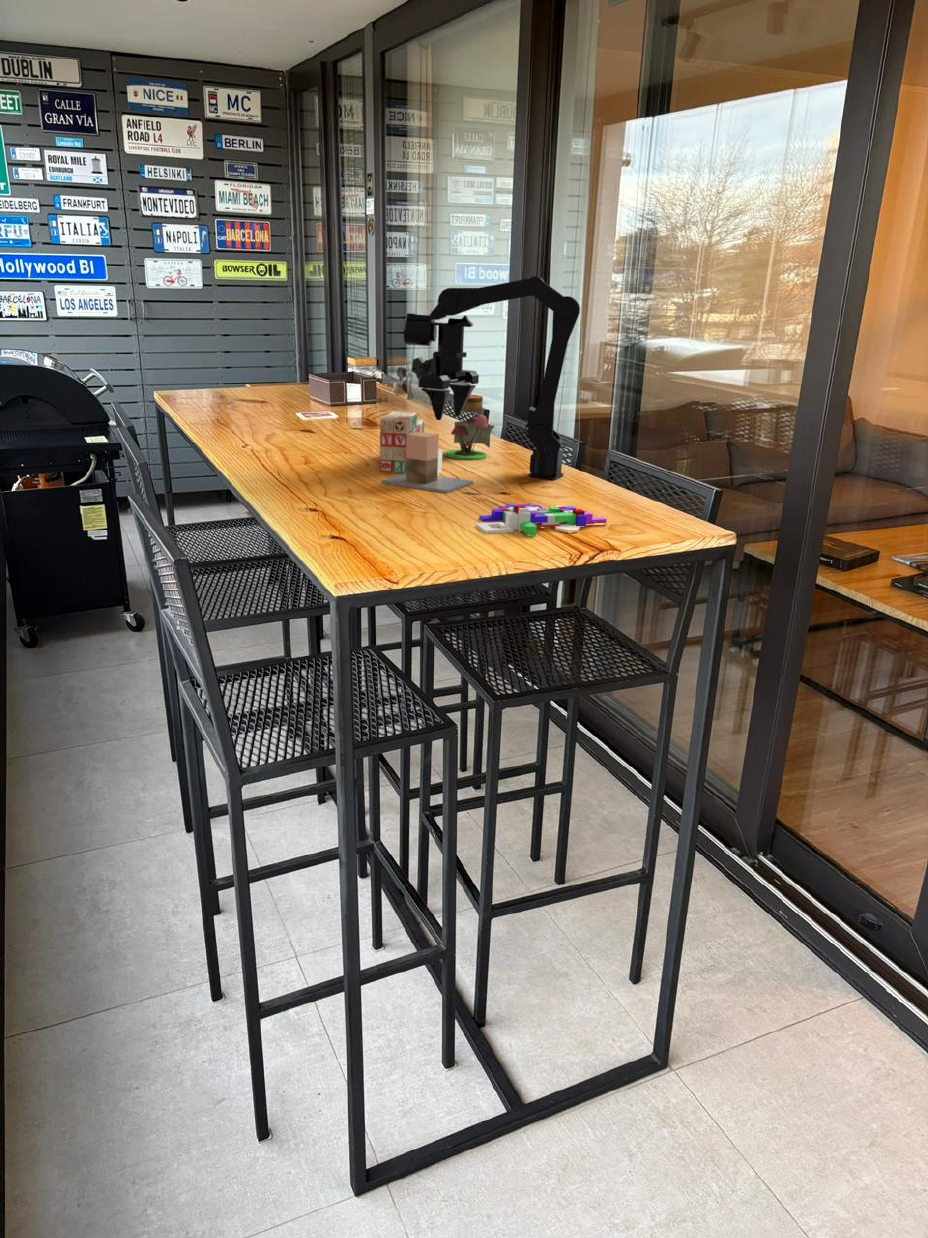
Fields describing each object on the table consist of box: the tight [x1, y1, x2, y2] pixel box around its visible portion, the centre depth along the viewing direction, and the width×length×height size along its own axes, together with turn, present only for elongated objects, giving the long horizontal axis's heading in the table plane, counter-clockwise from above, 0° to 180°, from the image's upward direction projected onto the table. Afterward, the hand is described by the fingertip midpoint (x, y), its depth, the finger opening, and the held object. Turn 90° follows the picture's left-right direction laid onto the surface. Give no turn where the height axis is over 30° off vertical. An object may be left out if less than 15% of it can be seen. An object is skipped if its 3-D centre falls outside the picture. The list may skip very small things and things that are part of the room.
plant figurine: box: [444, 393, 495, 460], centre depth 227 cm, size 12×13×15 cm
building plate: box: [381, 473, 474, 494], centre depth 197 cm, size 16×12×1 cm
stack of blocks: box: [379, 411, 425, 474], centre depth 214 cm, size 21×6×12 cm, turn 171°
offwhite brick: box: [437, 449, 443, 475], centre depth 208 cm, size 5×5×5 cm
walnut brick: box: [406, 458, 438, 484], centre depth 195 cm, size 5×5×5 cm
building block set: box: [475, 503, 608, 536], centre depth 170 cm, size 25×20×4 cm
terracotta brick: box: [406, 431, 440, 461], centre depth 194 cm, size 5×5×5 cm
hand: (448, 417), depth 208 cm, fingers open, 9 cm apart
